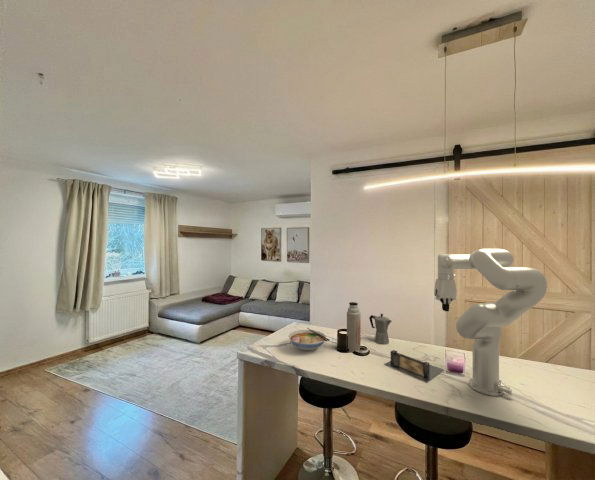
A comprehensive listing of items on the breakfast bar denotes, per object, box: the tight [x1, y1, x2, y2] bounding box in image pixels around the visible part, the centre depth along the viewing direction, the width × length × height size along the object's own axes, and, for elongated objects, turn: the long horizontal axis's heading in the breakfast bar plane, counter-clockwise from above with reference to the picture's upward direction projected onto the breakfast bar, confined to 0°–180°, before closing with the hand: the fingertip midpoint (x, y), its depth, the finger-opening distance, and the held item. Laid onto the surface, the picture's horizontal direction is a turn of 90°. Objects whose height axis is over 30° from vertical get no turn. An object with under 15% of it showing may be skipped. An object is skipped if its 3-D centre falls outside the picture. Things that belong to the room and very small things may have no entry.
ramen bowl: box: [288, 327, 330, 352], centre depth 157 cm, size 25×23×8 cm
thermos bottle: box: [346, 301, 362, 353], centre depth 154 cm, size 8×8×28 cm
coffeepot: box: [369, 313, 392, 345], centre depth 168 cm, size 15×9×18 cm, turn 44°
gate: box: [396, 351, 424, 375], centre depth 129 cm, size 14×2×6 cm, turn 39°
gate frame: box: [383, 349, 445, 383], centre depth 133 cm, size 22×18×7 cm
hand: (445, 310), depth 140 cm, fingers closed
